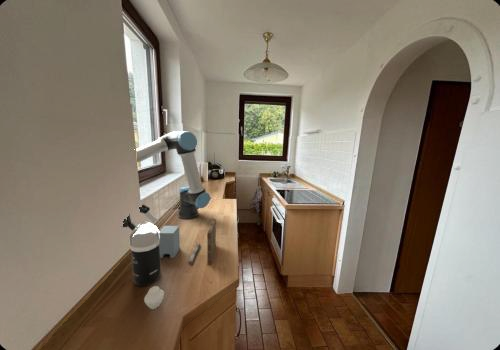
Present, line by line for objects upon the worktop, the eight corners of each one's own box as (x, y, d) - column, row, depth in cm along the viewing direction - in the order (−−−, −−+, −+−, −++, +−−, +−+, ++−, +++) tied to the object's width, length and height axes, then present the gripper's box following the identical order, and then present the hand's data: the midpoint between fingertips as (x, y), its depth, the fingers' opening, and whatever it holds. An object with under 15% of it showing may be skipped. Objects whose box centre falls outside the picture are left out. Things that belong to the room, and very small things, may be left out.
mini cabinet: (165, 248, 98) (164, 225, 96) (179, 248, 98) (179, 225, 96) (158, 257, 90) (157, 233, 88) (174, 257, 90) (173, 233, 88)
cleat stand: (197, 245, 101) (196, 218, 99) (215, 245, 102) (215, 218, 99) (188, 264, 86) (187, 232, 83) (210, 264, 86) (210, 232, 83)
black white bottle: (141, 291, 69) (137, 230, 65) (128, 280, 74) (123, 222, 70) (166, 275, 78) (163, 220, 74) (152, 266, 83) (149, 214, 79)
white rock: (143, 303, 64) (142, 286, 63) (162, 295, 68) (161, 278, 67) (146, 316, 59) (145, 297, 58) (166, 306, 63) (166, 288, 62)
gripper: (126, 195, 100) (155, 221, 103) (88, 211, 76) (128, 245, 79) (136, 186, 100) (165, 212, 103) (100, 199, 75) (140, 234, 78)
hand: (149, 227), depth 91 cm, fingers open, 13 cm apart
